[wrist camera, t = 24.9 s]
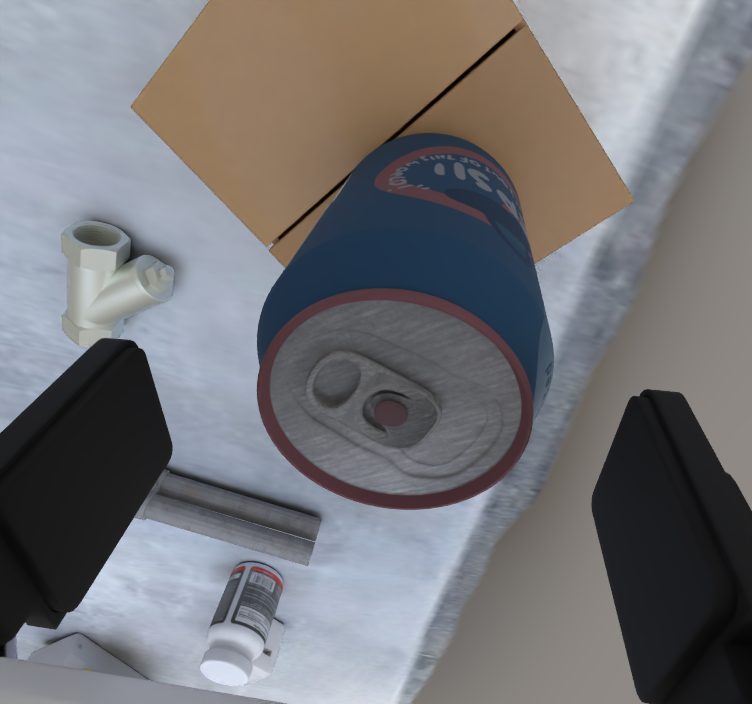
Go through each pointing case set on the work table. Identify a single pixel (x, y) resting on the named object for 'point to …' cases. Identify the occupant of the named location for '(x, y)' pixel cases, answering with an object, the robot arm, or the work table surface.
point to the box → (515, 145)
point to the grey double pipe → (171, 510)
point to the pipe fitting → (107, 282)
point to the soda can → (408, 331)
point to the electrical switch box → (82, 657)
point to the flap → (306, 91)
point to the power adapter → (267, 653)
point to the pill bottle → (241, 623)
